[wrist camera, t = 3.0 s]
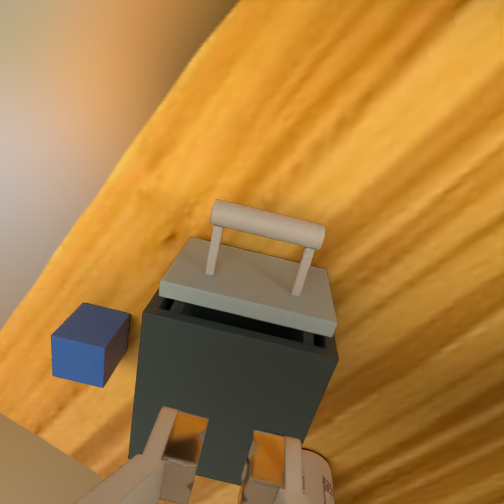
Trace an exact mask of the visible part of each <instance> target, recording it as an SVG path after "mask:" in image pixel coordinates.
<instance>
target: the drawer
mask: <svg viewBox="0 0 504 504" xmlns="http://www.w3.org/2000/svg"><path fill="white" fill-rule="evenodd" d="M210 223H211V224H213V225H214V226H213V231H212V237H211V241H206V240H202V239H198V238H194V237H190V238H189V239H188V241H187V242H186V244H185V245H184V247H183V248H182V250H181V251H180V252H179V254H178V255H177V257H176V258H175V260H174V261H173V263H172V264H171V266H170V267H169V269H168V270H167V271H166V273H165V274H164V276H163V277H162V279H161V280H160V286H159V296H162V297H166V298H170V299H174V300H175V301H174V303H173V305H172V306H171V308H170V310H169V311H172V312H176V313H180V314H185V315H189V316H193V317H197V318H201V319H205V320H210V321H214V322H218V323H222V324H226V325H230V326H234V327H239V328H243V329H247V330H251V331H255V332H259V333H263V334H268V335H272V336H276V337H280V338H284V339H288V340H292V341H297V342H301V343H305V344H309V345H313V346H314V336H313V333H315V334H319V335H323V336H328V337H332V336H333V333H334V331H335V328H336V326H337V324H338V323H337V318H336V313H335V308H334V303H333V299H332V294H331V289H330V284H329V279H328V274H327V270H326V269H322V268H318V267H314V266H310V264H311V261H312V258H313V255H314V252H315V249H317V250H319V249H320V248H321V246H322V243H323V240H324V236H325V230H326V228H325V225H322V224H318V223H314V222H310V221H306V220H301V219H297V218H293V217H289V216H285V215H281V214H277V213H272V212H268V211H264V210H260V209H256V208H252V207H248V206H244V205H239V204H235V203H231V202H227V201H223V200H219V199H216V200H215V202H214V205H213V208H212V212H211V218H210ZM224 227H226V228H230V229H234V230H238V231H242V232H246V233H250V234H255V235H259V236H263V237H267V238H271V239H275V240H279V241H283V242H288V243H292V244H296V245H300V246H304V247H305V249H304V252H303V255H302V258H301V261H300V263H297V262H293V261H289V260H285V259H281V258H277V257H273V256H268V255H264V254H260V253H256V252H252V251H248V250H244V249H239V248H235V247H231V246H227V245H223V244H220V243H221V238H222V233H223V228H224Z"/></svg>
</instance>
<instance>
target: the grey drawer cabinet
mask: <svg viewBox="0 0 504 504" xmlns="http://www.w3.org/2000/svg"><path fill="white" fill-rule="evenodd" d="M174 301H175V300H174V299H170V298H166V297H162V296H159V289H158V290H157V292H156V293H155V295H154V296H153V298H152V299H151V301H150V302H149V304H148V305H147V307H146V308H145V310H144V311H143V314H142V325H141V335H140V345H139V355H138V365H137V375H136V385H135V395H134V405H133V415H132V425H131V435H130V445H129V455H128V459H131V458H133V457H134V456H135V455H136V454H141V455H142V454H143V451H144V449H145V447H146V444H147V442H148V439H149V437H150V434H151V432H152V429H153V427H154V424H155V422H156V420H157V417H158V415H159V412H160V410H161V409H162V407H163V406H166V407H170V408H174V409H178V410H181V411H185V412H189V413H192V414H196V415H200V416H203V417H207V418H209V421H208V425H207V429H206V434H205V438H204V442H203V446H202V450H201V454H200V458H199V462H198V466H197V470H196V474H195V475H198V476H202V477H206V478H211V479H215V480H219V481H223V482H227V483H231V484H236V485H240V486H241V485H242V479H241V472H242V465H243V460H244V456H245V452H246V448H247V445H248V444H249V443H250V436H251V433H252V430H253V428H255V429H260V430H264V431H269V432H273V433H278V434H282V435H284V436H289V437H293V438H297V439H300V441H301V444H303V442H304V439H305V437H306V435H307V432H308V430H309V428H310V425H311V423H312V421H313V418H314V416H315V414H316V411H317V409H318V407H319V404H320V402H321V400H322V397H323V395H324V393H325V390H326V388H327V386H328V383H329V381H330V378H331V376H332V374H333V371H334V369H335V367H336V364H337V362H338V360H339V359H338V353H337V349H336V343H335V338H334V333H333V336H332V337H328V336H323V335H319V334H315V333H313V336H314V346H313V345H309V344H305V343H301V342H297V341H292V340H288V339H284V338H280V337H276V336H272V335H268V334H263V333H259V332H255V331H251V330H247V329H243V328H239V327H234V326H230V325H226V324H222V323H218V322H214V321H210V320H205V319H201V318H197V317H193V316H189V315H185V314H180V313H176V312H172V311H169V310H170V308H171V306H172V305H173V303H174Z"/></svg>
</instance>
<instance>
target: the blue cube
mask: <svg viewBox="0 0 504 504" xmlns="http://www.w3.org/2000/svg"><path fill="white" fill-rule="evenodd" d="M129 318H130V314H129V313H125V312H120V311H116V310H112V309H108V308H104V307H100V306H95V305H91V304H87V303H82V304H81V305H80V306H79V307H78V308H77V309H76V310H75V311H74V312H73V313H72V314H71V315H70V316H69V318H68V319H67V320H66V321H65V322H64V323H63V324H62V325H61V326H60V327H59V328H58V329H57V330H56V331H55V332H54V333H53V334H52V335H51V349H52V374H53V376H55V377H59V378H64V379H68V380H72V381H76V382H80V383H84V384H89V385H93V386H97V387H101V388H103V387H104V386H105V384H106V383H107V381H108V380H109V378H110V376H111V375H112V373H113V372H114V370H115V368H116V367H117V365H118V364H119V362H120V360H121V359H122V357H123V356H124V354H125V352H126V351H127V343H128V331H129Z"/></svg>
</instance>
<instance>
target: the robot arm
mask: <svg viewBox="0 0 504 504" xmlns="http://www.w3.org/2000/svg"><path fill="white" fill-rule="evenodd" d="M208 421H209V418H207V417H203V416H200V415H196V414H192V413H189V412H185V411H181V410H178V409H174V408H170V407H166V406H163V407H162V409H161V410H160V412H159V415H158V417H157V420H156V422H155V424H154V427H153V429H152V432H151V434H150V437H149V439H148V442H147V444H146V447H145V449H144V451H143V454H142V455H141V454H136V455H135V456H134V457H133V458H131V459H130V460H129V461H127V462H126V463H125V464H124V465H122V466H121V467H120V468H119V469H117V470H116V471H115V472H113V473H112V474H111V475H110V476H108V477H107V478H106V479H105V480H103V481H102V482H101V483H99V484H98V485H97V486H96V487H94V488H93V489H92V490H91V491H90V492H88V493H87V494H85V495H84V496H83V497H82V498H80V499H79V500H78V501H77V502H75V503H74V504H157V503H158V502H159V500H164V501H169V502H173V503H178V504H188V502H189V498H190V494H191V490H192V486H193V482H194V478H195V474H196V470H197V466H198V462H199V458H200V454H201V450H202V446H203V442H204V438H205V434H206V429H207V425H208ZM241 479H242V485H241V488H240V491H239V495H238V503H237V504H313V503H312V501H311V499H310V498H309V496H308V495H306V494H303V472H302V444H301V441H300V439H297V438H293V437H289V436H284V435H282V434H278V433H273V432H269V431H264V430H260V429H255V428H253V430H252V433H251V436H250V443H249V444H248V445H247V448H246V452H245V456H244V460H243V465H242V472H241Z"/></svg>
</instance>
